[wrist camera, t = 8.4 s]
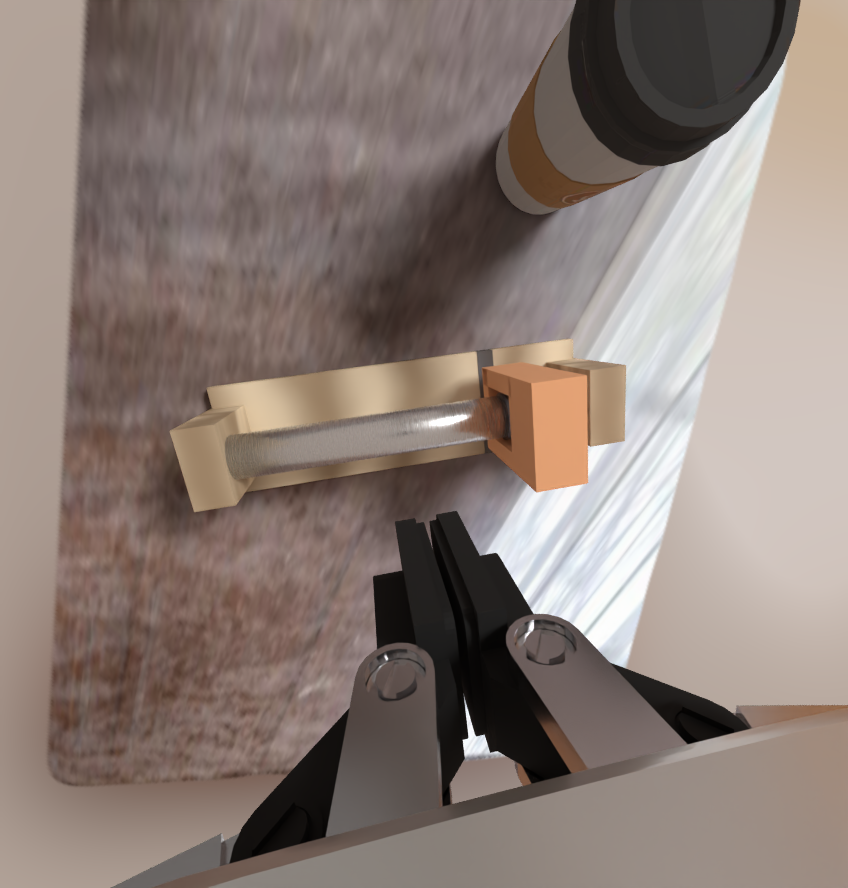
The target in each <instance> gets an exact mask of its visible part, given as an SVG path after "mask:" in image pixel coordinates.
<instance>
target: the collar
mask: <svg viewBox="0 0 848 888" xmlns="http://www.w3.org/2000/svg"><path fill="white" fill-rule="evenodd" d="M482 377H483V390H484V398H486V397H492V396H496V395H497V393H499V392H501V393H503V394H506V395H508V396H509V410H510V426H511V439H510V440H504V439H503V438H497V439H491V440H488V448H489V449H490V450H491V451H492V452H493V453H494V454H496V455H497V456H498V457H499V458H500V459H501V460H502V461H503V462H504V463H505V464H506V465H507V466H509V467H510V468H511V469H512V470H513V471H514V472H515V473H516V474H517V475H518V476H519V477H520V478H522V479H523V480H524V481H525V482H526V483H527V484H528V485H529V486H530V487H531V488H532V489H533V490H534V491H536V492H541V491H547V490H553V489H558V488H564V487H570V486H575V485H581V484H587V483H588V431H587V375H583V374H578V373H573V372H568V371H563V370H558V369H553V368H548V367H544V366H539V365H534V364H529V363H524V362H519V363H512V364H505V365H498V366H490V367H483V368H482Z"/></svg>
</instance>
